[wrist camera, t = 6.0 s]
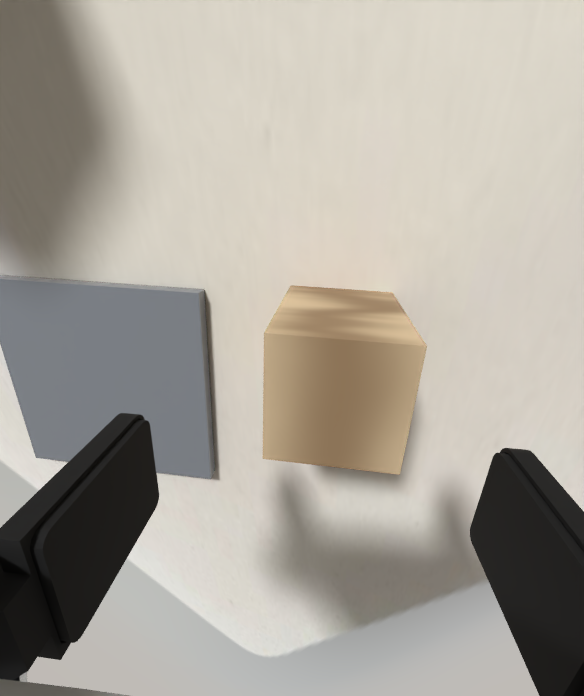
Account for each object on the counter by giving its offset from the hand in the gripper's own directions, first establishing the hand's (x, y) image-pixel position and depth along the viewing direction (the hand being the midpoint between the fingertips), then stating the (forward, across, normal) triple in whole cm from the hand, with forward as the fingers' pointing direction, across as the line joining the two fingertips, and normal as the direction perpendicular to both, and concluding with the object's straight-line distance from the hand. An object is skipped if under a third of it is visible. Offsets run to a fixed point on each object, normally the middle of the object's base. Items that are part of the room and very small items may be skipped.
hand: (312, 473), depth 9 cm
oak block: (+10, -1, -1) cm, 10 cm away
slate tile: (+10, +12, +3) cm, 16 cm away
